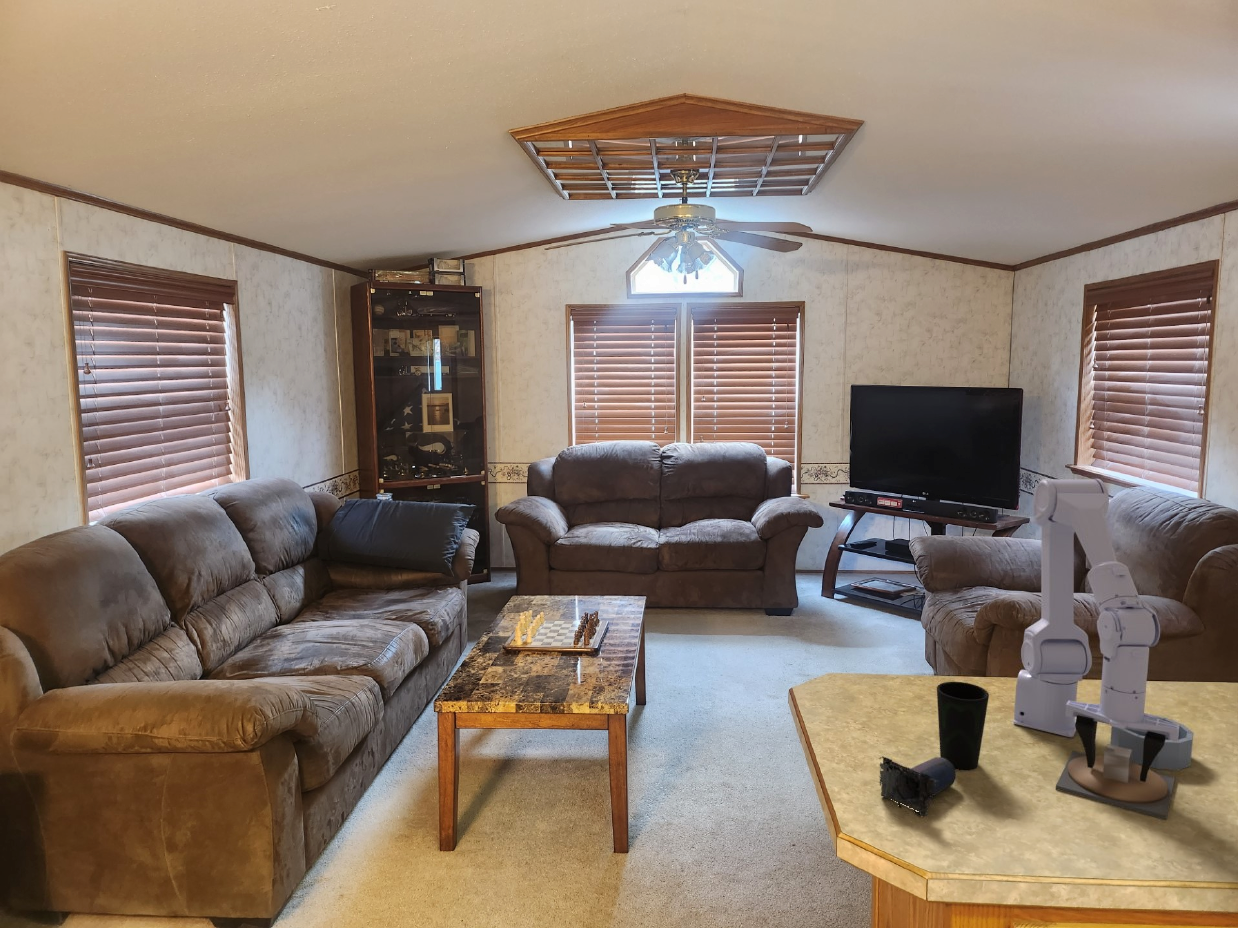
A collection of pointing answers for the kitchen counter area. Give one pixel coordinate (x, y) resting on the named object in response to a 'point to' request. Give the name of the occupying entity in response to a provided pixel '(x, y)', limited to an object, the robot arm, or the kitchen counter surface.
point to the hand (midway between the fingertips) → (1116, 771)
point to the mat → (1151, 809)
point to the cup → (961, 723)
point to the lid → (1117, 777)
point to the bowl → (1170, 754)
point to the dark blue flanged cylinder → (916, 782)
